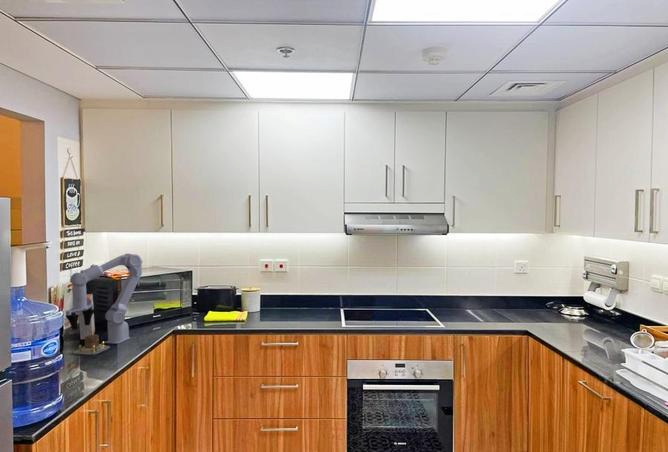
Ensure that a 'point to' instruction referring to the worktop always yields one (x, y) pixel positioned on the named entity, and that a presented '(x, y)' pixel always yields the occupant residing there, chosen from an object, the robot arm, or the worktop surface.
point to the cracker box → (84, 329)
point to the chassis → (91, 351)
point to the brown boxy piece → (91, 343)
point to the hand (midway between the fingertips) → (81, 327)
